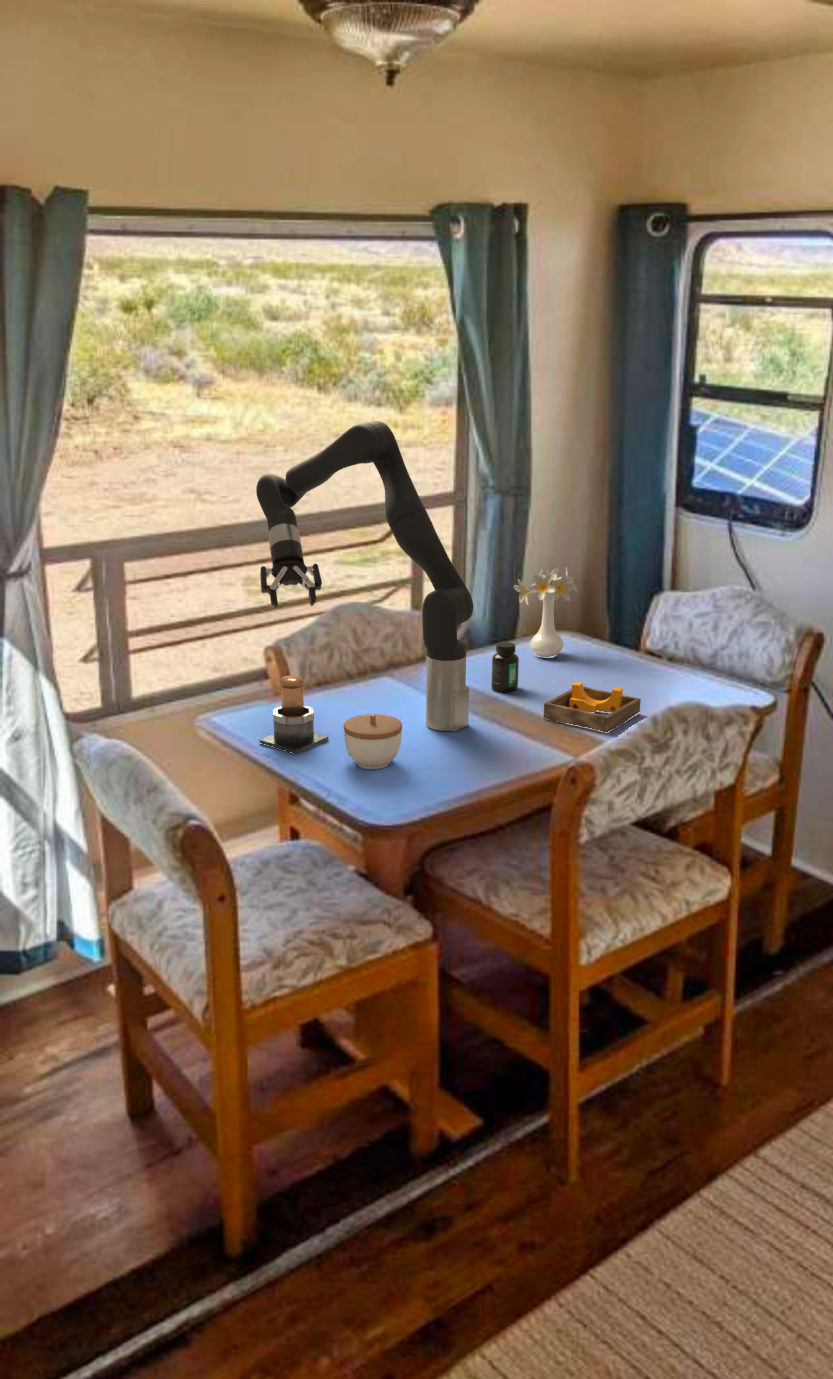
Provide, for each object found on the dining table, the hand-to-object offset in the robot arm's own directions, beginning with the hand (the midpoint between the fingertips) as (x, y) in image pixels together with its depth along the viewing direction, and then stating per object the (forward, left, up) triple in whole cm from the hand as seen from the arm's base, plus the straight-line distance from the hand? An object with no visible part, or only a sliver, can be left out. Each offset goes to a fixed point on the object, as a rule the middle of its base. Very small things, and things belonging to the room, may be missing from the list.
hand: (294, 605), depth 283 cm
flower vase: (-24, -78, -27) cm, 86 cm away
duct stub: (-12, +14, -27) cm, 33 cm away
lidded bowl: (-34, +13, -28) cm, 46 cm away
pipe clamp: (-57, -45, -28) cm, 78 cm away
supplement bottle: (-30, -47, -28) cm, 62 cm away
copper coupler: (-11, +14, -21) cm, 28 cm away
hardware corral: (-58, -42, -27) cm, 76 cm away
